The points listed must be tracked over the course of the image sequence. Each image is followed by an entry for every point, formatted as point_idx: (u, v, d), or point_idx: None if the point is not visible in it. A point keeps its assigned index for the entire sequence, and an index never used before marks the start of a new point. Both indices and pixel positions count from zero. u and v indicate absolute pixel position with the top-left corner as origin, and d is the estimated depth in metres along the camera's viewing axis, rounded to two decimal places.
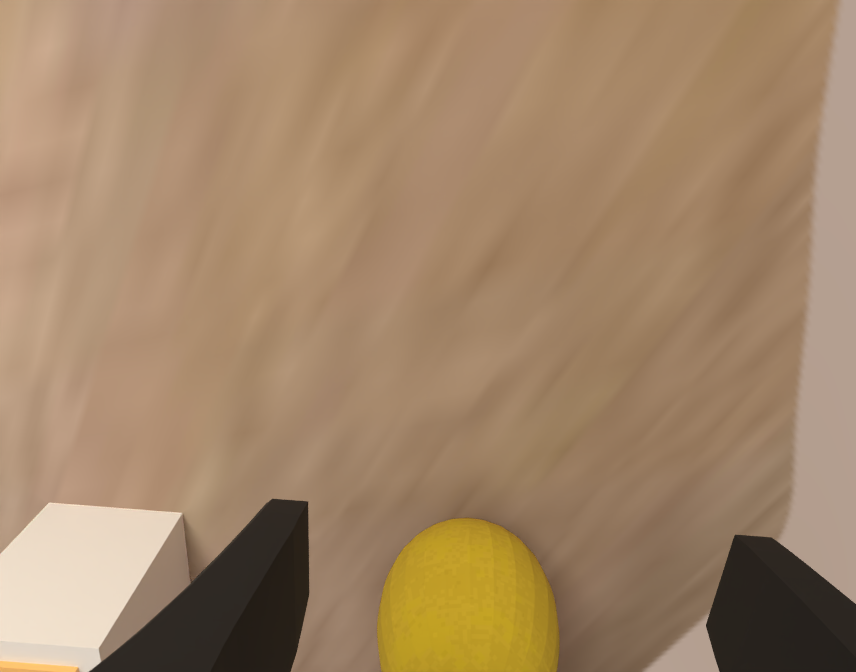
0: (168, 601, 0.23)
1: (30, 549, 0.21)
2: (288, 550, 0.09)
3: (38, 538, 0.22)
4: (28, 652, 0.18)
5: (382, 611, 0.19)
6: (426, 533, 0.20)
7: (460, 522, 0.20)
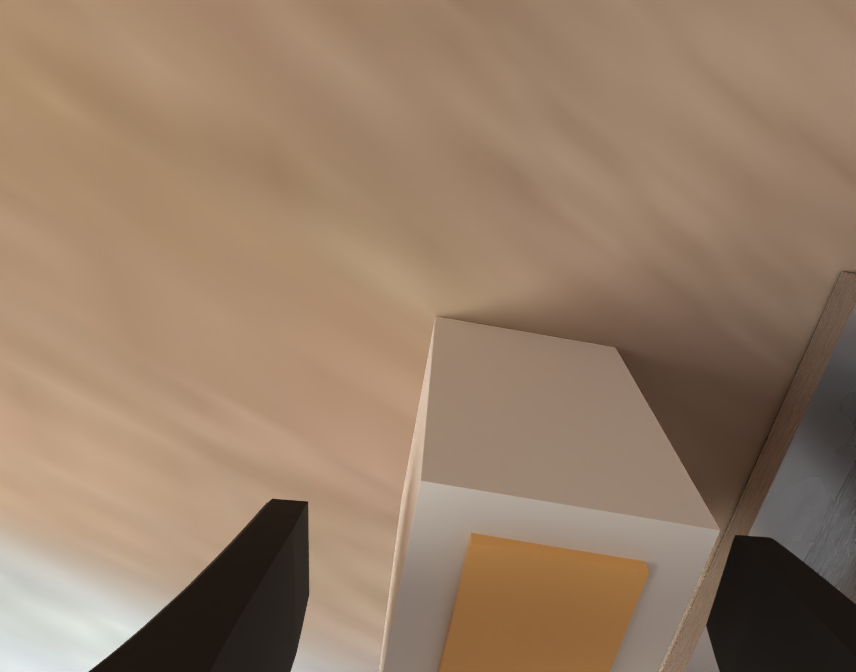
0: (558, 372, 0.12)
1: (397, 542, 0.13)
2: (288, 550, 0.09)
3: (399, 527, 0.14)
4: (424, 603, 0.09)
5: None
6: None
7: None
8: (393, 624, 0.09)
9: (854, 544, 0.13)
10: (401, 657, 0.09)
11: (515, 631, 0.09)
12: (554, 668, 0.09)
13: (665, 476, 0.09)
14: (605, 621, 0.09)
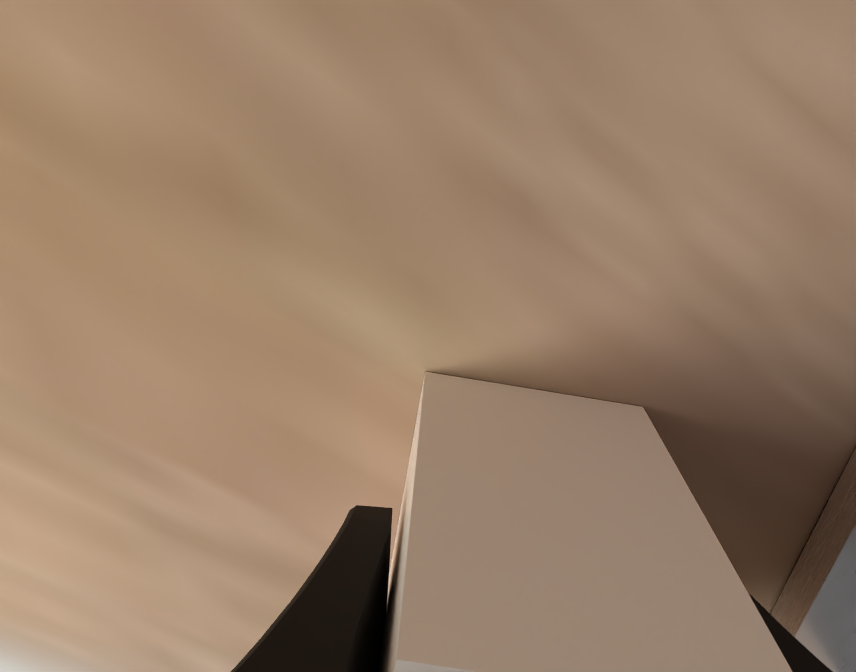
0: (578, 450, 0.10)
1: None
2: (382, 557, 0.09)
3: None
4: None
5: None
6: None
7: None
8: None
9: None
10: None
11: None
12: None
13: (732, 622, 0.07)
14: None
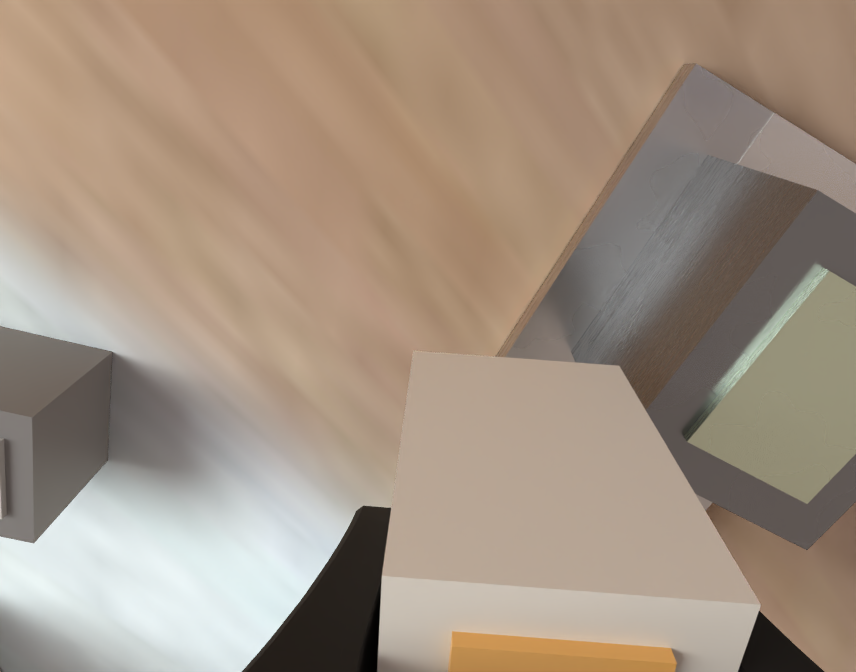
0: (554, 405, 0.10)
1: None
2: None
3: None
4: None
5: None
6: None
7: None
8: None
9: (628, 296, 0.16)
10: None
11: None
12: None
13: (686, 533, 0.08)
14: None
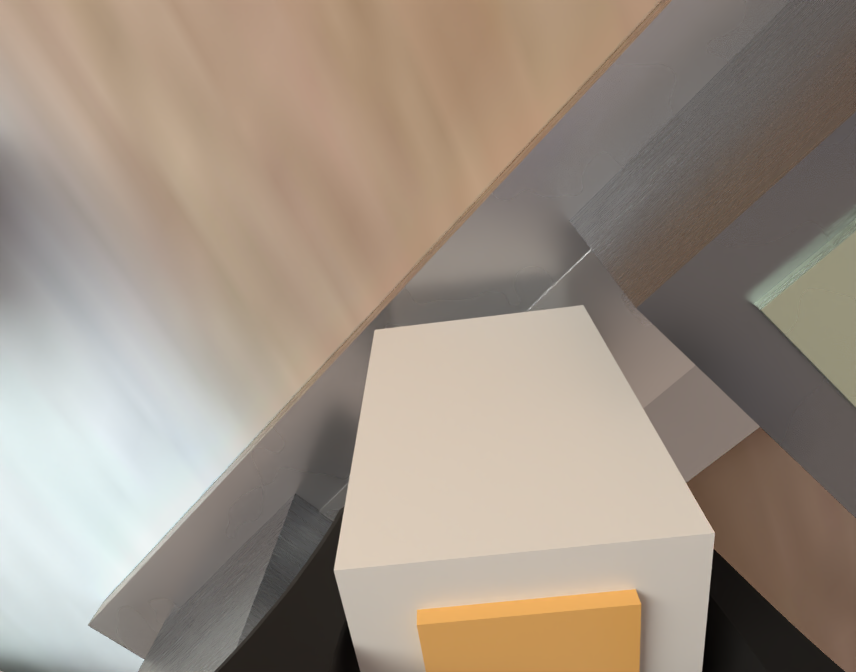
0: (514, 360, 0.10)
1: None
2: None
3: None
4: None
5: None
6: None
7: None
8: None
9: (676, 136, 0.11)
10: None
11: None
12: None
13: (642, 471, 0.07)
14: (610, 667, 0.07)
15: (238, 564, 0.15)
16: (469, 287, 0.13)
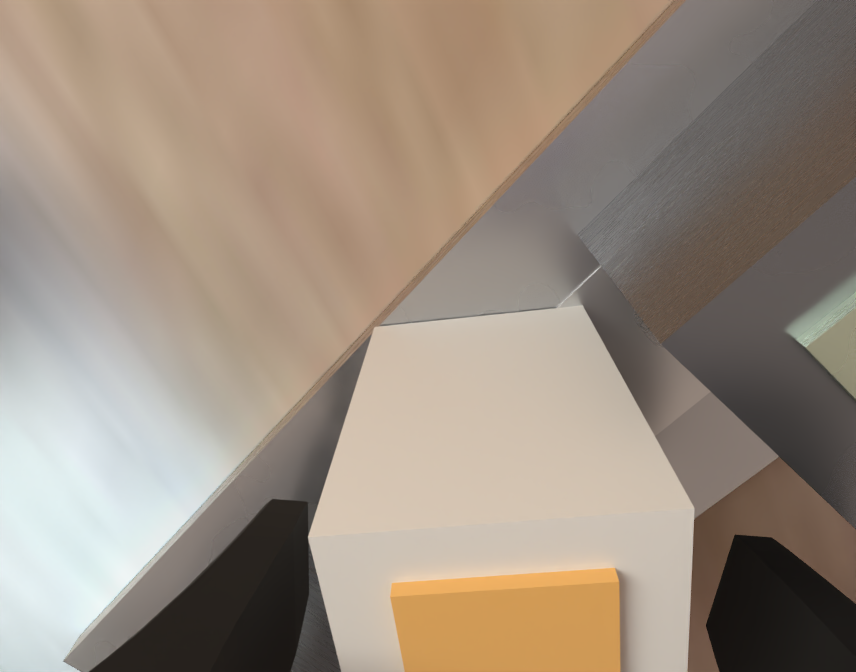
0: (508, 353, 0.10)
1: None
2: (288, 550, 0.09)
3: None
4: None
5: None
6: None
7: None
8: None
9: (697, 144, 0.10)
10: None
11: None
12: None
13: (626, 452, 0.07)
14: (590, 651, 0.07)
15: None
16: (468, 306, 0.12)
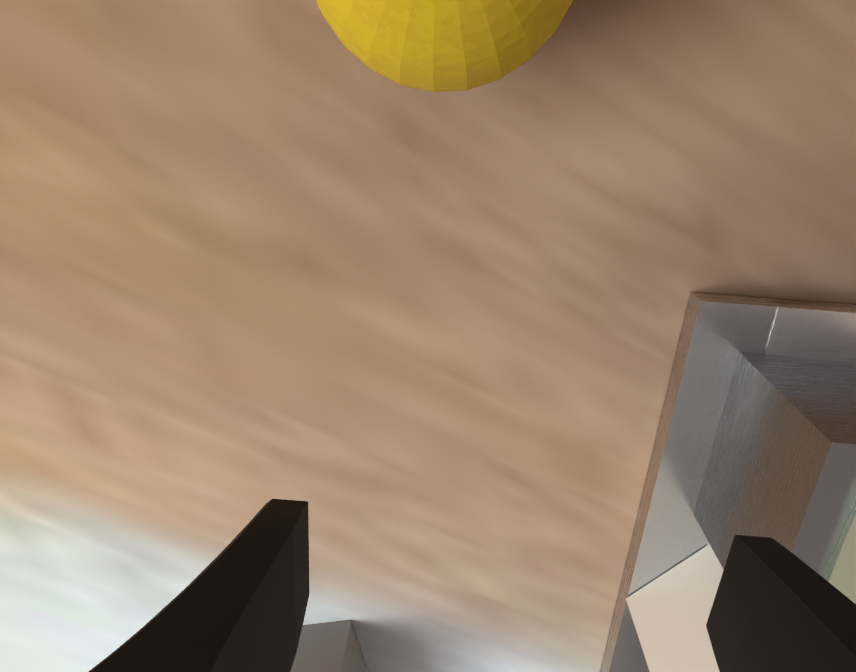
0: (701, 603, 0.20)
1: None
2: (288, 550, 0.09)
3: None
4: None
5: (395, 80, 0.13)
6: None
7: None
8: None
9: (721, 476, 0.19)
10: None
11: None
12: None
13: None
14: None
15: None
16: (664, 566, 0.22)
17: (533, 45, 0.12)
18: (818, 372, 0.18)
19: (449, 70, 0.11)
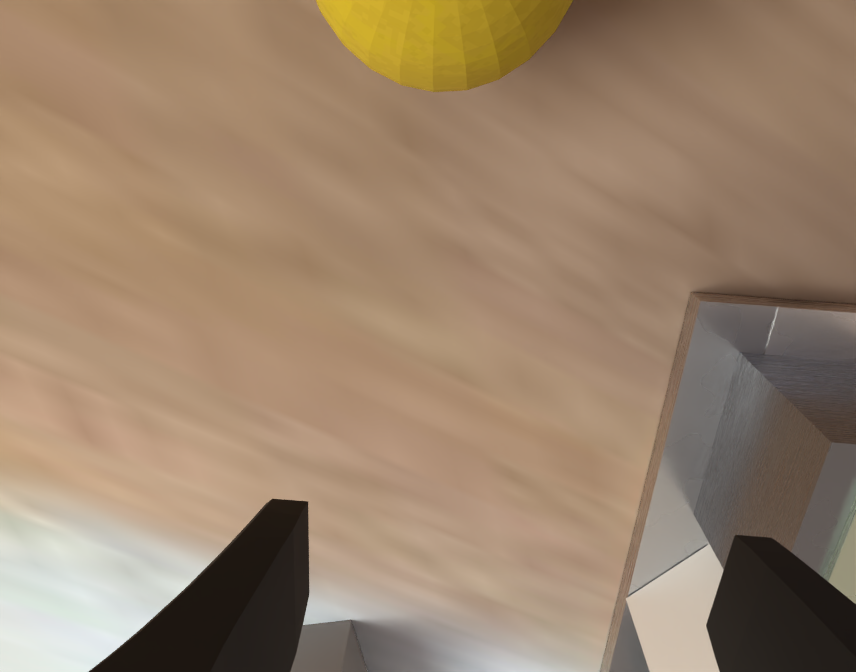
0: (701, 603, 0.20)
1: None
2: (288, 550, 0.09)
3: None
4: None
5: (395, 80, 0.13)
6: None
7: None
8: None
9: (721, 476, 0.19)
10: None
11: None
12: None
13: None
14: None
15: None
16: (664, 566, 0.22)
17: (533, 45, 0.12)
18: (818, 372, 0.18)
19: (449, 70, 0.11)
